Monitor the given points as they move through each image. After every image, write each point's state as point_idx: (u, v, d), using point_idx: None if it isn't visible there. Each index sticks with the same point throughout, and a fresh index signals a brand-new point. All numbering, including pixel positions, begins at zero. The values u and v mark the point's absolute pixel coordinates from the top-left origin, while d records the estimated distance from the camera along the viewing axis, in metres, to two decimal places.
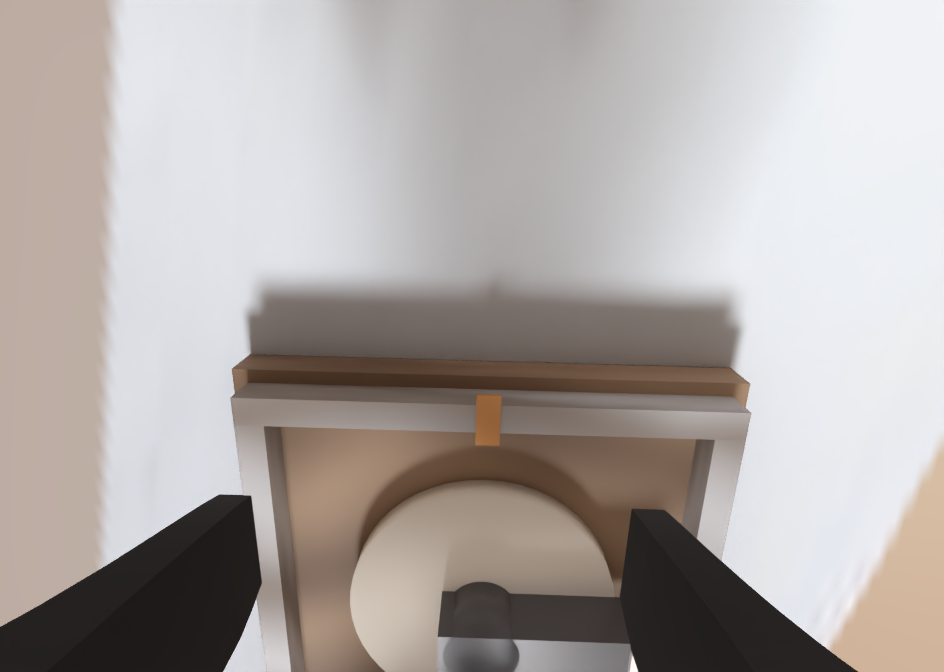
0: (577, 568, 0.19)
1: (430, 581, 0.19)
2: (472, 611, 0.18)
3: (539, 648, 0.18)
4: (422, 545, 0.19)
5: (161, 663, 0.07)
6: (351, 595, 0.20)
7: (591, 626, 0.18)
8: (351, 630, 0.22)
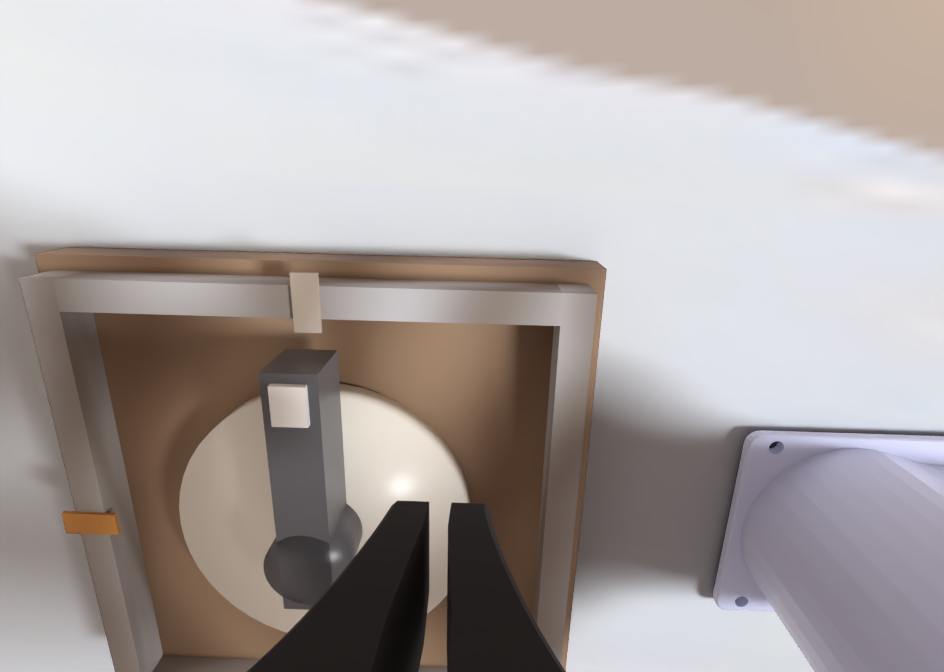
0: (255, 436, 0.17)
1: None
2: None
3: (285, 516, 0.15)
4: (250, 577, 0.19)
5: None
6: None
7: None
8: None
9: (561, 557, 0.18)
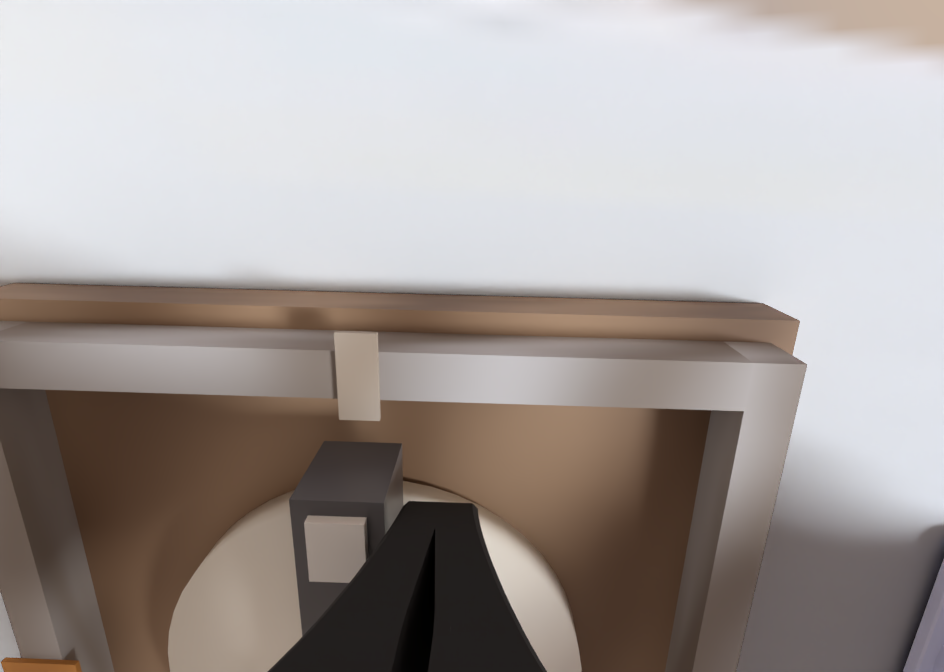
0: (277, 561, 0.12)
1: None
2: None
3: None
4: None
5: None
6: None
7: None
8: None
9: None
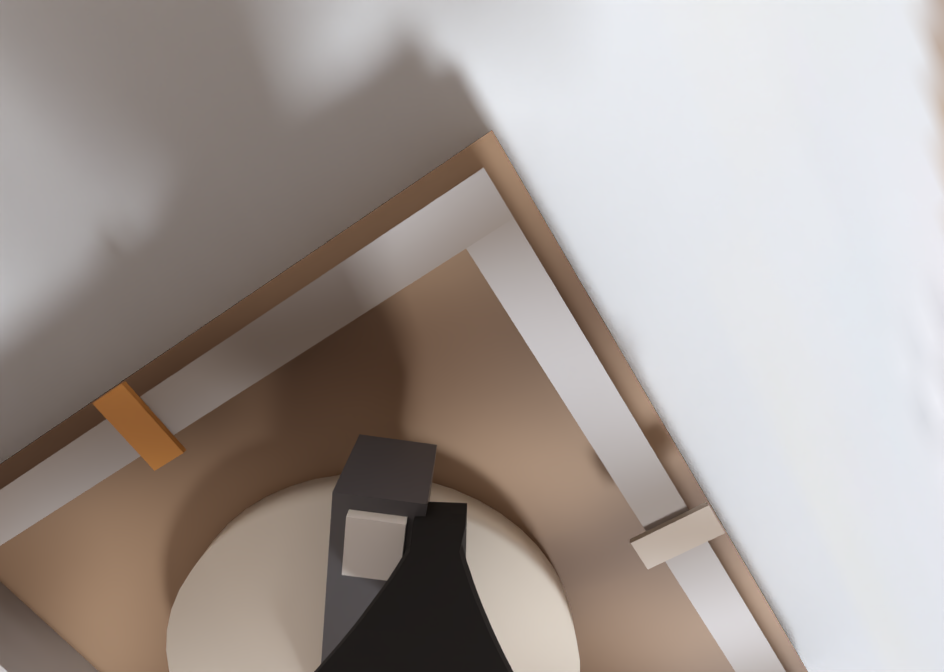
0: (294, 549, 0.12)
1: None
2: None
3: None
4: None
5: None
6: None
7: None
8: None
9: None
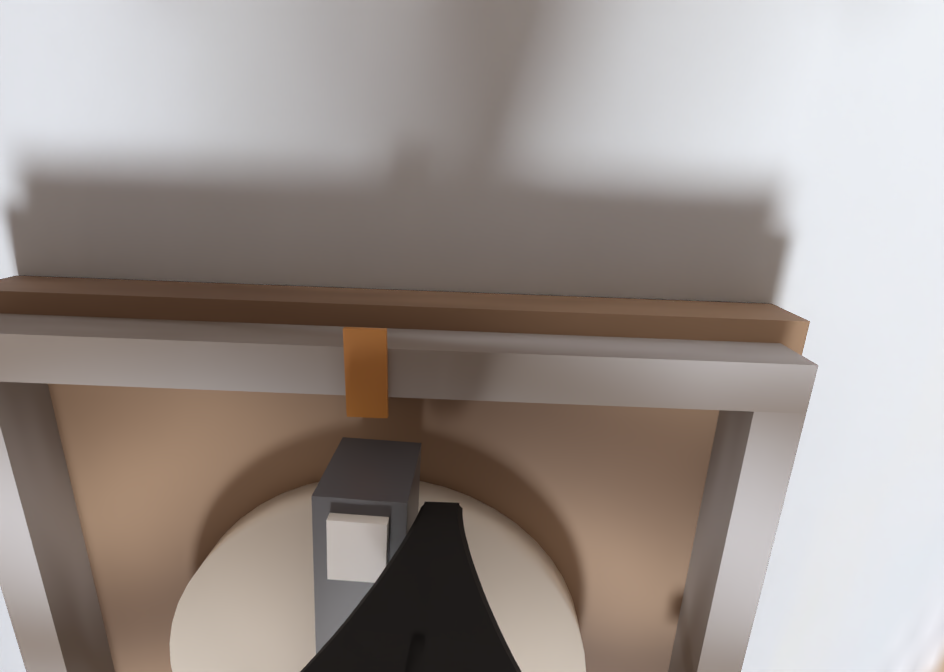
0: (287, 556, 0.11)
1: None
2: None
3: None
4: None
5: None
6: None
7: None
8: None
9: None
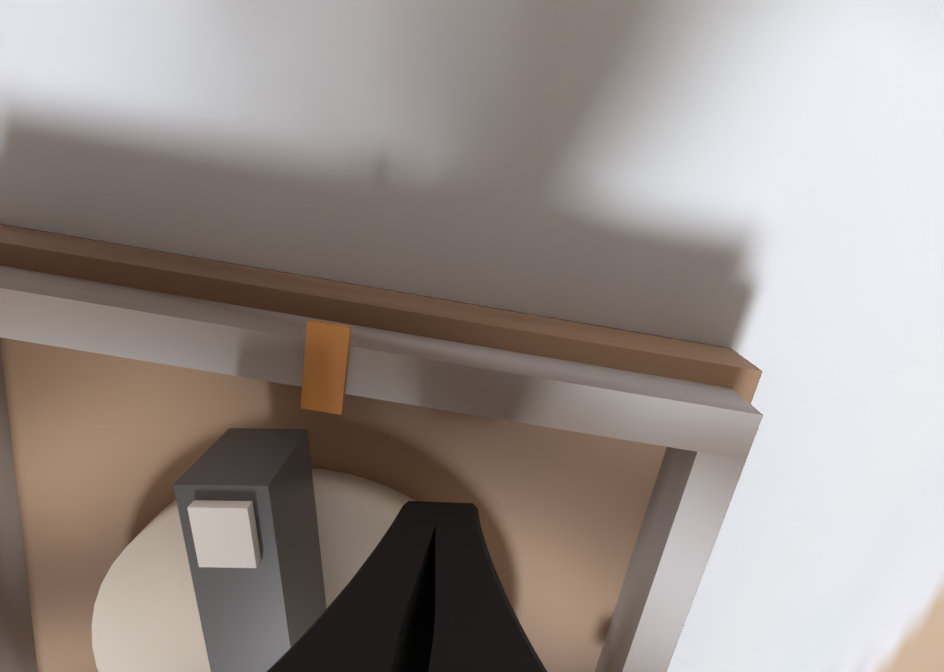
0: None
1: None
2: None
3: None
4: None
5: None
6: None
7: None
8: None
9: None
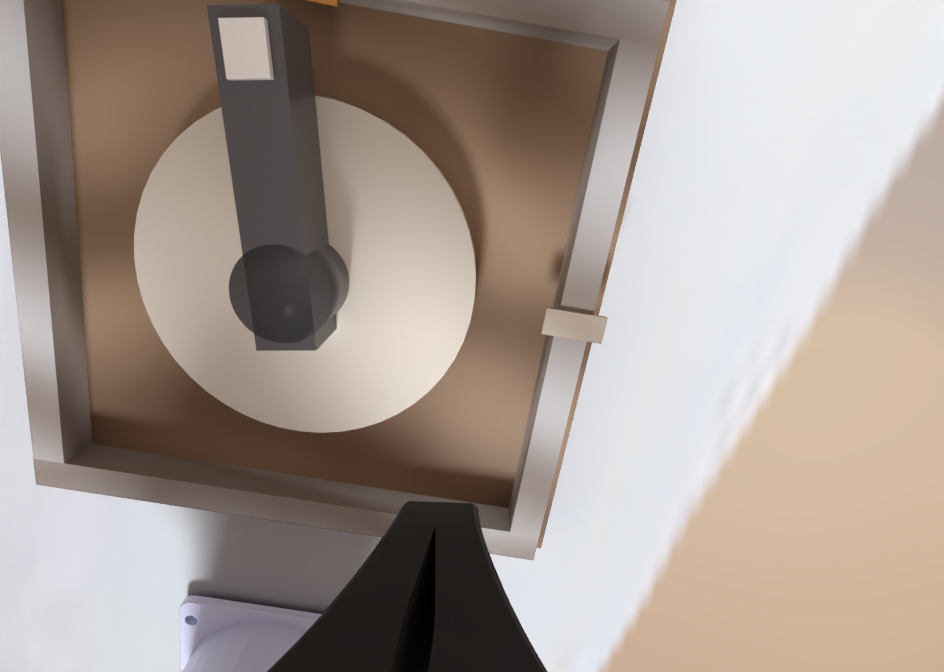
0: (217, 156, 0.14)
1: None
2: None
3: (251, 217, 0.13)
4: (221, 351, 0.16)
5: None
6: (307, 430, 0.17)
7: None
8: (148, 321, 0.17)
9: (265, 510, 0.18)
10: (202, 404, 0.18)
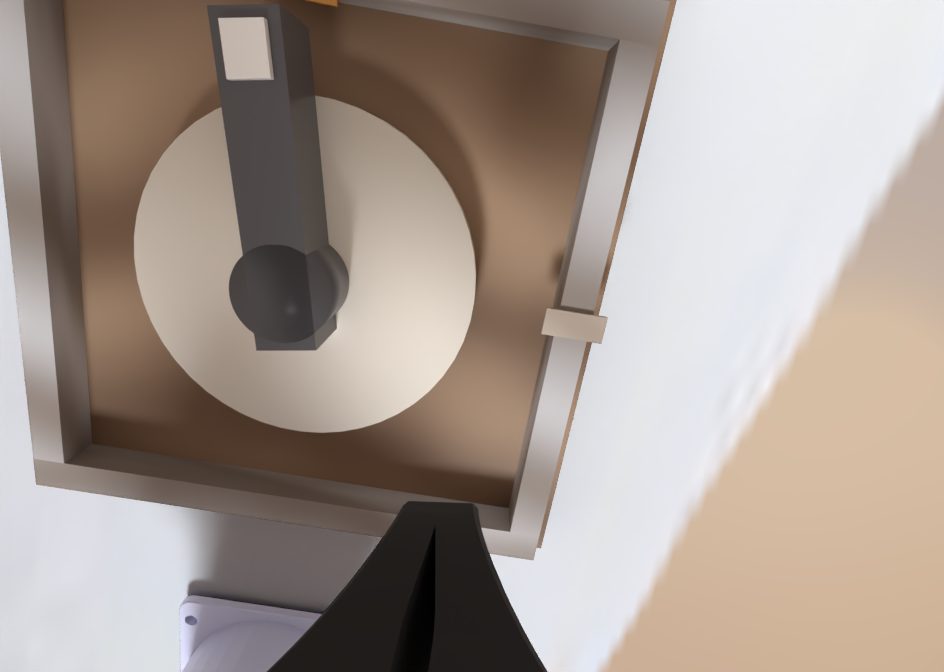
0: (217, 156, 0.14)
1: None
2: None
3: (251, 217, 0.13)
4: (221, 351, 0.16)
5: None
6: (307, 430, 0.17)
7: None
8: (148, 321, 0.17)
9: (265, 510, 0.18)
10: (202, 404, 0.18)
